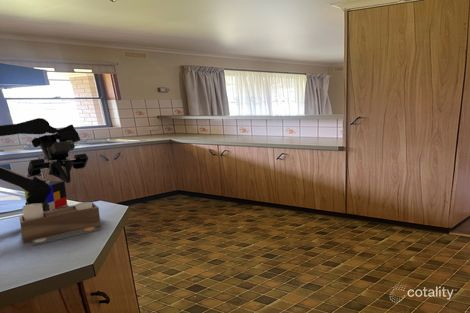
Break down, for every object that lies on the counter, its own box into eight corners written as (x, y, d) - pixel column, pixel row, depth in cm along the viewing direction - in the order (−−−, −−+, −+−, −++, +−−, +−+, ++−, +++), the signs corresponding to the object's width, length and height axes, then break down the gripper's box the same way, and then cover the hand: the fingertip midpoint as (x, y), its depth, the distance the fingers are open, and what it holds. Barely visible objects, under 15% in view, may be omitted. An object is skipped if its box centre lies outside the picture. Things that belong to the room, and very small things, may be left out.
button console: (21, 234, 97) (19, 216, 96) (94, 219, 109) (92, 202, 109) (23, 243, 90) (20, 223, 89) (100, 225, 102) (98, 207, 101)
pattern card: (31, 241, 91) (31, 239, 91) (94, 227, 101) (94, 225, 101) (33, 245, 87) (32, 243, 87) (97, 230, 97) (97, 228, 97)
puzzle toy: (48, 211, 123) (45, 186, 121) (27, 211, 125) (24, 186, 123) (67, 204, 132) (64, 181, 131) (47, 204, 134) (44, 181, 133)
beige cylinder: (76, 222, 104) (73, 204, 103) (92, 218, 107) (90, 201, 106) (79, 226, 100) (76, 207, 99) (95, 222, 103) (93, 204, 102)
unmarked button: (24, 225, 96) (22, 205, 95) (43, 221, 99) (41, 202, 98) (25, 229, 92) (22, 208, 91) (45, 225, 95) (42, 205, 94)
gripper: (26, 135, 102) (44, 171, 96) (83, 131, 116) (101, 162, 111) (20, 158, 108) (37, 193, 102) (75, 152, 122) (92, 182, 117)
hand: (69, 182), depth 108 cm, fingers closed
